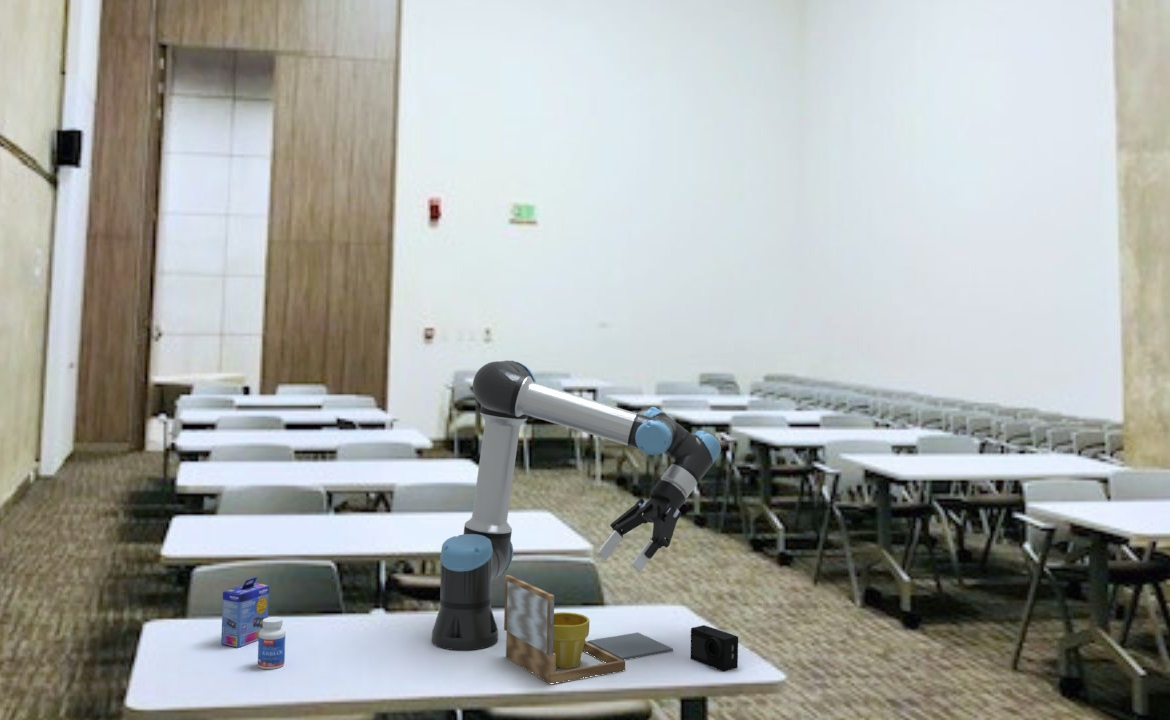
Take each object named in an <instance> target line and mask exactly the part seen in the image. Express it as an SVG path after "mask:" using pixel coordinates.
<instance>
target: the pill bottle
mask: <svg viewBox="0 0 1170 720" xmlns="http://www.w3.org/2000/svg"><path fill="white" fill-rule="evenodd" d="M283 621H284V619H283V618H282V617H280V616H279V617H278V616H271V617H269V616H268V618H265V619H263V628H264V629H262V630H261V631H260V632H259V639H258V640H257V643H258V645H257V651H258V652H257V666H258V668H259V669H263V670H276V669H280V668H281V667H283V666H284V665H285V662H286V661H285V658H286V655H285V654H286V630H285V629H284V628H282V627H283V623H284V622H283Z"/></svg>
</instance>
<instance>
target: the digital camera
mask: <svg viewBox="0 0 1170 720" xmlns="http://www.w3.org/2000/svg"><path fill="white" fill-rule="evenodd" d="M738 654H739V636H738V635H735V634H732V633H729V632H725V631H723V630H720V629H718V628H714V627H710V626H709V625H698V626H694V627H691V628H690V656H689V657H690V660H693V661H695V662H698V663H701V664H703V665H706V666H708V667H711V668H713V669H716V670H719V671H721V672H727V671H732V670H734V669H738V668H739V664H738V663H739V655H738Z"/></svg>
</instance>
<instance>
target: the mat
mask: <svg viewBox="0 0 1170 720" xmlns="http://www.w3.org/2000/svg"><path fill="white" fill-rule="evenodd" d="M587 642H589V643H591V644H593V645H594V646H596V647H598V648H600V649H602V650H604V651H606V652H608V653H610V654H612V655H614V656H616V657H618V658H620V659H622V660H624V659H627V660H631V659H630V658H633V659H637V658H636V657H638V658H642V657H643V656H644V657H648V656H649V657H650V656H654V655H659V654H660V655H661V654H665V653H670V652H673V651H674V648H673V647H671V646H669V645H666V644H665V643H662V642H660V641H657V640H656V639H653V638H651V637H649V636H647V635H644V634H642V633H641V632H632V633H626V634H621V635H615V636H614V635H613V636H609V637H602V638H595V639H590V640H589V639H588V640H587ZM624 661H625V660H624Z"/></svg>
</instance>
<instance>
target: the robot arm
mask: <svg viewBox="0 0 1170 720" xmlns="http://www.w3.org/2000/svg"><path fill="white" fill-rule="evenodd" d="M472 391H473V396H474V397H475V399H476V401H477V402H478V403H479V405H480V411H479V415H480V416H481V417H482V418H483V420H484V427H483V434H482V440H481V441H482V442H481V449H480V456H479V463H478V470H477V471H478V472H477V478H476V485H475V486H476V487H475V492H474V499H473V505H472V506H473V507H472V513H471V514H472V516H471V517H470V518H469V519H468V520H467V521H466V522H465V523H464V527H463V534H459V535H457V536H456V535H455V536H452V537H449V538H447V539H446V540H445V541H444V542H443V543H442V544H441V552H440V556H439V560H440V582H439V583H440V584H439V585H440V588H439V589H440V593H439V595H440V596H439V597H440V598H439V599H440V600H439V602H440V603H439V604H440V606H439V610H438V614H437V616H436V618H435V621H434V624H433V628H432V632H431V642H432V644H433V645H435V646H436V647H439V648H443V649H448V650H455V651H458V650H460V651H467V650H468V651H470V650H471V651H472V650H479V649H485V648H488V647H491V646H493V645H495V644H496V643H498V641H499V630H498V626H497V623H496V619H495V616H494V613H493V609H492V582H494V581H495V580H496V579H498V578H500V577H501V576H503V575H504V574H505V573H506V572H507V570H508V569H509V567H510V565H511V563H512V561H513V557H514V547H513V543H512V541H511V540H512V532H513V529H512V526H510V524H509V523H508V518H509V517H508V516H509V509H510V508H509V507H510V503H511V502H510V501H511V494H512V487H513V481H514V472H515V466H516V465H515V464H516V457H517V451H518V443H519V436H520V429H521V425H522V424H524V423H525V422H526V421H527V420H528V416H529V417H533V418H536V419H539V420H543V421H546V422H549V423H552V424H555V425H558V426H562V427H566V428H568V429H569V428H570V429H572V430H575V431H579V432H582V433H585V434H587V435H588V434H589V435H592V436H595V437H598V438H602V439H605V440H609V441H611V442H614V443H618V444H621V445H622V444H623V445H624V446H628V447H630V448H634V449H636V450H639V451H641V452H643V453H644V454H645V455H649V456H659V455H661V454H664V455H666V456H667V457H668V458H669V459H672V460H673V462H672V463H671V464H670V466H669V467H668V468H667V469H666V471H665V472H664V473H663V474H662V476H661V477H660V480H658V481H657V483H656V484H655V485H654V486H653V487H652V489H651V490H650V496H651V498H649V500H647V501H645V500H644V499H643V498H642V497H641V498H640V499H638V500H637V502H636V503H635V504H634V505H633V506H631V507H630V508H629V509H627V510H626V511H625V512H624V513H623V514H622V515H620V516H619V517H618V518H616V519H615V520H614V521H613V522H611V523H610V526H609V527H611V529H612V532H611V533H610V534H609V536H608V537H607V538H606V540H605V541H604V543H603V544H602V545H601V546H600V547H599V549H598V550H597V554H598V555H599V556H600V557H601V558H602V559H603V560H604V561H607V560H608V558H609V557H610V555H612V553H613V552H614V551H615V549H616V548H617V547H618V545H619V544H620V543H621V542H622V540H623V538H624V535H625V534H627V533H629V532H631V531H633V530H634V529H636V528H637V527H640V526H641V525H642V524H645V525H646V524H648V523H650V524H651V523H653V525H652V537H649V539H648V540H647V541H646V543H645V544H644V546H643V547H642V548H641V549H640V551H639V552H638V554H637V555H636V556H635V557H634V559H633V560H632V562H631V563H630V564H631V565H632V566H633V568H635V569H636V571H637V572H639V573H641V572H642V570H643V569H644V568H645V566H646V565H647V564H648V563H649V561H650V560H651V559H652V558H653V557H654V555H655V554H656V552H657V551H658V550H659V549H661V548H663V547H664V548H668V547H669V546H670V544H671V541H672V538H673V535H674V532H675V529H676V525H677V522H678V520H679V519H680V517H681V515H682V512H681V511H680V508H681V507H682V506H683V505H684V503H685V502H686V499H688V497H689V496H690V494H691V493H692V492H693V491H694V489H695V488H696V486H698V484H699V483H700V482H701V480H702V479H703V477H704V476H705V475H706V473H707V472H709V470H710V469H711V467H712V466H713V464H715V461H716V459H718V457H719V455H720V454H721V451H722V447H721V444H720V442H719V440H717V438H716V437H714V435H713V434H710V433H708V432H707V431H705V430H697V431H696V432H695V433H692V432H690V431H688V430H687V429H685V428H684V427H682V425H680V424H679V423H678V422H677V421H675V420H674V419H672V418H671V417H670V416H669V415H667V414H666V413H665V412H664V411H661V410H660V409H658V408H657V407H655V406H651V407H649V408H648V410H646V412H645V413H644V414H639V413H637V412H634V411H630V410H626V409H623V408H620V407H616V406H613V405H610V404H607V403H603V402H599V401H597V400H593V399H591V398H586V397H583V396H579V395H576V394H574V393H571V392H567V391H564V390H561V389H557V388H553V387H550V386H548V385H544V384H540V383H537V382H536V378H535V375H534V373H533V372H532V370H531V369H530V368H529V367H528V366H527V365H525V364H523V363H522V362H518V361H515V360H501V361H491V362H488V363H486V364H484V365H482V366H481V367H480V368H479V369H478V370H477V372H476V373H475V375H474V377H473V381H472Z"/></svg>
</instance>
